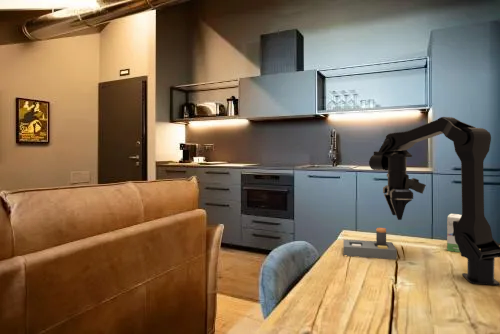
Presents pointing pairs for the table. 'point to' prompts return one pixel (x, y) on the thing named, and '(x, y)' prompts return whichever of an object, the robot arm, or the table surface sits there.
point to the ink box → (451, 239)
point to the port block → (369, 249)
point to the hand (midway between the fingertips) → (396, 217)
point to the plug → (381, 236)
